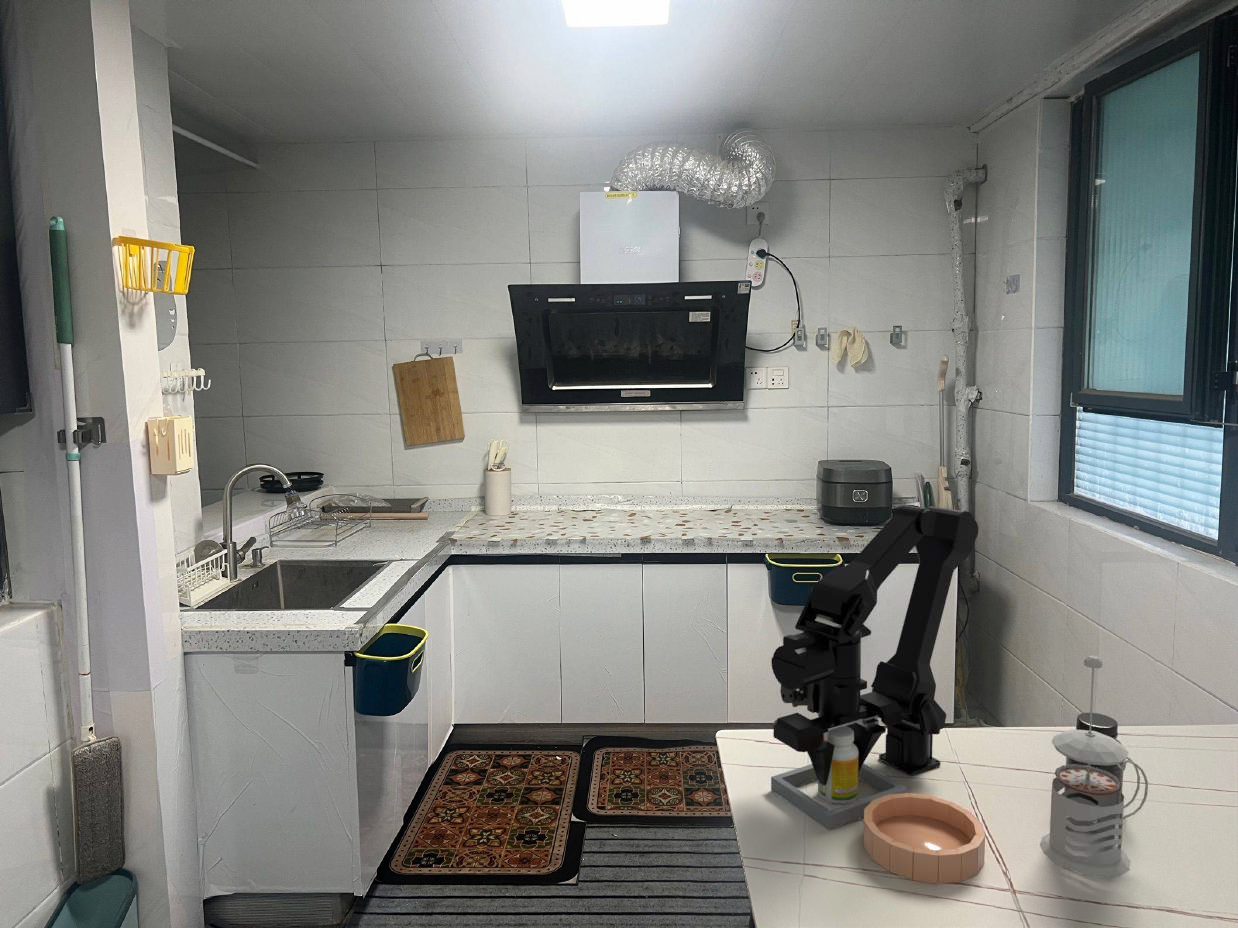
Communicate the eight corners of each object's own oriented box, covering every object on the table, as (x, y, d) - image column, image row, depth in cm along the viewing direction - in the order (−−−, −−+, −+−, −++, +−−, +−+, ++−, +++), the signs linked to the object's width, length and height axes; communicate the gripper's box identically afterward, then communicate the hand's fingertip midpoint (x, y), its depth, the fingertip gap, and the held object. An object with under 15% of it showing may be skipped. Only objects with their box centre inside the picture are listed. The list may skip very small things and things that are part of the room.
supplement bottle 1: (811, 796, 119) (811, 731, 118) (830, 782, 123) (830, 718, 122) (846, 809, 115) (846, 742, 114) (864, 794, 119) (865, 729, 118)
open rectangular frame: (845, 765, 128) (845, 753, 127) (907, 801, 117) (907, 787, 117) (771, 789, 121) (771, 776, 121) (829, 829, 111) (829, 815, 110)
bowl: (918, 807, 115) (919, 783, 115) (1008, 860, 103) (1009, 833, 103) (840, 837, 109) (840, 811, 108) (926, 896, 96) (927, 867, 96)
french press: (1025, 830, 109) (1032, 642, 106) (1117, 830, 109) (1127, 641, 106) (1063, 877, 100) (1072, 671, 96) (1164, 876, 99) (1176, 670, 96)
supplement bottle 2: (1057, 804, 115) (1061, 720, 114) (1072, 785, 120) (1075, 704, 119) (1114, 822, 111) (1118, 734, 109) (1127, 801, 116) (1131, 717, 114)
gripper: (848, 642, 128) (847, 741, 130) (748, 666, 119) (748, 771, 121) (905, 665, 118) (903, 771, 120) (800, 692, 110) (800, 806, 112)
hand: (838, 778), depth 119 cm, fingers closed on supplement bottle 1, 5 cm apart
